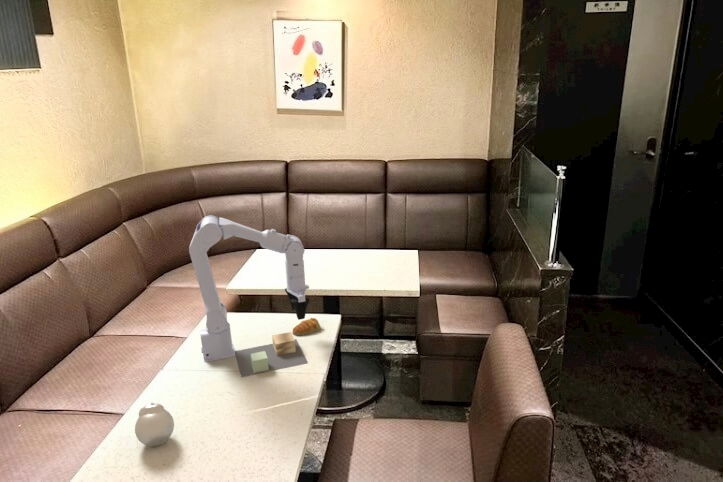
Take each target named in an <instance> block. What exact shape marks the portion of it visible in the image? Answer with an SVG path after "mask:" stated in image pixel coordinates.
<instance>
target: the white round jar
mask: <svg viewBox="0 0 723 482" xmlns="http://www.w3.org/2000/svg"><path fill="white" fill-rule="evenodd" d="M174 429H175V421H174V417H173V415H172V414H171V413H170V412H169V411H168V410H166V409H165V407H164V405H162V404H161V403H154V402H148V403H146V404H145V405H144V406H143V407H141V408H140V409H139V412H138V418H137V420H136V422H135V426H134V433H135V437H136V439H137V440H138V441H139V442H140V443H141V444H143V445H144V446H147V447H157V446H160V445H162V444H164V443H165V442H167V441H168V440H170V438H171V436H172V435H173V433H174Z"/></svg>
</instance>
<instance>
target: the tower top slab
mask: <svg viewBox="0 0 723 482" xmlns="http://www.w3.org/2000/svg"><path fill="white" fill-rule="evenodd" d="M271 338H272V344H273V343H274V346H275V348H276V350H279V349H284V348H289V347H294V346H295V340H294V339H295V338H294V336H293V333H292V332H291V331H289V332H283V333H279V334H278V333H277V334H275V335H274V334H273V335H272V337H271Z"/></svg>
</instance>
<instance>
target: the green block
mask: <svg viewBox="0 0 723 482" xmlns="http://www.w3.org/2000/svg"><path fill="white" fill-rule="evenodd" d="M250 355H251V364H252V368H253V372H254V373H256V372H261V371H266V370H269V367H268V358H267V355H266V352H265V351H262V352H257V353H252V354H250Z"/></svg>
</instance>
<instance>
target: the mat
mask: <svg viewBox="0 0 723 482" xmlns="http://www.w3.org/2000/svg"><path fill="white" fill-rule="evenodd" d="M294 340H295V349H296V352H292V353H287V354H282V355H278V356H277V355H276V352H275V350H274V347H273V343H269V344H263V345H260V346H254V347H250V348H249V347H248V348H244V349H239V350H234V351H235V358H236V363H237V365H238V369H239V374H240V377H241V378H245V377H250V376H254V375H258V374H263V373H268V372H272V371H277V370H282V369H286V368H292V367H296V366H302V365H306V364H309V362H308V360H307V359H306V356H305V354H304V352H303V350H302V348H301V346H300V344H299V342H298V340H297V338H294ZM262 351H265V352H266V355H267V358H268V367H269V370H266V371H261V372H256V373H254V372H253V368H252V364H251V355H250V354H252V353H257V352H262Z"/></svg>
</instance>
